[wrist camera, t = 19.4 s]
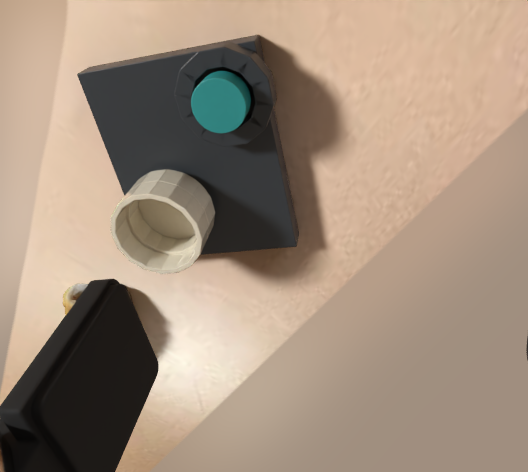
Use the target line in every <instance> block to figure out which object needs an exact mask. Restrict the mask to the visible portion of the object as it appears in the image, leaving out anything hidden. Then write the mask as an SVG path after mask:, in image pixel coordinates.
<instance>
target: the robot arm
mask: <svg viewBox="0 0 528 472" xmlns="http://www.w3.org/2000/svg"><path fill="white" fill-rule="evenodd" d="M527 359H528V338H527ZM157 373H158V361H157V358H156V356H155V353H154V351H153V349H152V347H151V344H150V342H149V340H148V337H147V335H146V333H145V330H144V328H143V326H142V324H141V321H140V319H139V317H138V314H137V312H136V310H135V308H134V305H133V303H132V301H131V298H130V296H129V294H128V292H127V289H126V287H125V286H124V285H122V284H119V282H118V281H117V280H115V279H106V280H94V281H91V282H90V283H89V284H88V286H87V287H86V288H85V290H84V291H83V292H82V294H81V295H80V297H79V298H78V299H77V301H76V302H75V304H74V305H73V306H72V308H71V309H70V310H69V312H68V313H67V315H66V316H65V317H64V319H63V320H62V321H61V323H60V324H59V326H58V327H57V328H56V330H55V331H54V333H53V334H52V335H51V337H50V338H49V339H48V341H47V342H46V344H45V345H44V346H43V348H42V349H41V350H40V352H39V353H38V355H37V356H36V357H35V359H34V360H33V362H32V363H31V364H30V366H29V367H28V368H27V370H26V371H25V373H24V374H23V375H22V377H21V378H20V380H19V381H18V382H17V384H16V385H15V386H14V388H13V389H12V391H11V392H10V393H9V395H8V396H7V397H6V399H5V400H4V402H3V403H2V404H1V406H0V472H115V471H116V468H117V466H118V464H119V461H120V459H121V457H122V455H123V452H124V450H125V448H126V445H127V443H128V441H129V438H130V436H131V434H132V432H133V429H134V427H135V425H136V422H137V420H138V418H139V415H140V413H141V411H142V409H143V406H144V404H145V402H146V399H147V397H148V395H149V392H150V390H151V388H152V386H153V383H154V381H155V379H156V376H157Z"/></svg>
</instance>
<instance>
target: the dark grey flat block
mask: <svg viewBox="0 0 528 472" xmlns="http://www.w3.org/2000/svg"><path fill="white" fill-rule="evenodd" d="M216 71H228V72H231V73H234V74H236V75H237V76H239V77H240V78H241V79H242V80H243V81H244V82H245V83H246V85H247V87H248V89H249V91H250V95H251V105H250V109H249V111H248V113H247V115H246V117H245V119H244V121H243V122H242V124H241V125H240V126H239V127H238V128H237V129H235V130H234V131H231V132H229V133H214V132H211V131H209V130H207V129H205V128H204V127H203V126H202V125H200V124H199V122H198V121H197V120H196V118H195V116H194V114H193V111H192V107H191V98H192V94H193V92H194V90H195V88H196V87H197V86H198V85H199V84H200V83H201V81H202V80H203V79H204V78H205V77H206V76H208V75H209V74H211V73H213V72H216ZM77 75H78V78H79V80H80V83H81V85H82V88H83V90H84V93H85V96H86V98H87V101H88V103H89V106H90V108H91V111H92V113H93V116H94V119H95V121H96V124H97V126H98V129H99V131H100V134H101V136H102V139H103V142H104V144H105V147H106V149H107V152H108V154H109V157H110V159H111V162H112V165H113V167H114V170H115V172H116V175H117V177H118V180H119V182H120V185H121V188H122V190H123V193H124V195H126V194H127V193H128V191H129V190H130V189H131V188H132V187H133V185H134V184H135V183H136V182H137V180H138V179H140V178H141V177H143V176H144V175H146V174H147V173H149V172H151V171H157V170H165V169H167V170H168V169H169V170H175V171H179V172H183V173H185V174H187V175H189V176H191V177H193V178H194V179H196V180H197V181H198V182H199V183H200V184H201V185H202V186H203V187H204V188H205V189H206V191H207V192H208V194H209V195H210V197H211V199H212V203H213V206H214V210H215V218H214V225H213V228H212V230H211V232H210V234H209V236H208V238H207V241H206V243H205V245H204V247H203V249H202V252H201V254H200V255H202V254H214V253H226V252H238V251H249V250H261V249H273V248H285V247H296V246H297V241H298V236H299V232H298V227H297V222H296V217H295V212H294V207H293V202H292V197H291V192H290V187H289V182H288V177H287V172H286V167H285V162H284V157H283V152H282V147H281V142H280V137H279V132H278V127H277V122H276V117H275V112H274V105H275V102H276V100H277V96H276V90H275V85H274V80H273V75H272V73H271V70H270V69H269V68H268V67H267V66H266V64H265V62H264V57H263V52H262V47H261V42H260V37H259V35H254V36H249V37H244V38H239V39H234V40H228V41H223V42H218V43H213V44H208V45H202V46H197V47H192V48H187V49H182V50H176V51H171V52H166V53H161V54H156V55H150V56H145V57H140V58H135V59H130V60H124V61H119V62H114V63H109V64H104V65H98V66H93V67H89V68H87V69H85V70H84V71H82V72H80V73H78V74H77Z"/></svg>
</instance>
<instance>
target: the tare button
mask: <svg viewBox="0 0 528 472" xmlns="http://www.w3.org/2000/svg"><path fill="white" fill-rule="evenodd" d="M250 105H251V95H250V91H249V89H248V87H247V85H246V83H245V82H244V81H243V80H242V79H241V78H240V77H239V76H237V75H236V74H234V73H231V72H228V71H216V72H213V73H211V74H209V75H208V76H206V77H205V78H204V79H203V80H202V81H201V83H200V84H199V85H198V86H197V87H196V88H195V90H194V92H193V94H192V98H191V107H192V111H193V114H194V116H195V118H196V120H197V121H198V122H199V124H200V125H202V126H203V127H204V128H205V129H207V130H209V131H211V132H214V133H229V132H231V131H234V130H235V129H237V128H238V127H239V126H240V125H241V124H242V122H243V121H244V119H245V117H246V115H247V113H248V111H249V109H250Z"/></svg>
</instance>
